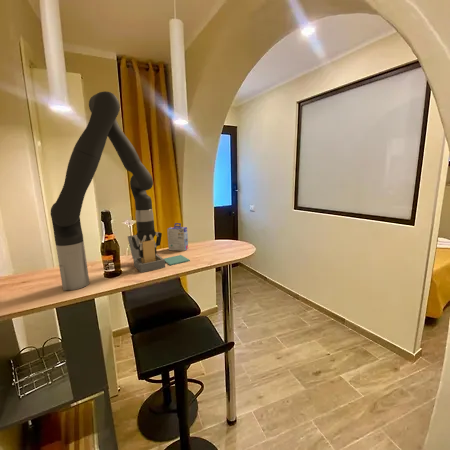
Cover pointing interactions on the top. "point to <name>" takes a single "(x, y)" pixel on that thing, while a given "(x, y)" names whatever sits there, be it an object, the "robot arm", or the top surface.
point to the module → (148, 251)
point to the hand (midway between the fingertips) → (148, 256)
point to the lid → (133, 251)
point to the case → (149, 264)
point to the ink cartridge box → (177, 238)
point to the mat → (176, 260)
